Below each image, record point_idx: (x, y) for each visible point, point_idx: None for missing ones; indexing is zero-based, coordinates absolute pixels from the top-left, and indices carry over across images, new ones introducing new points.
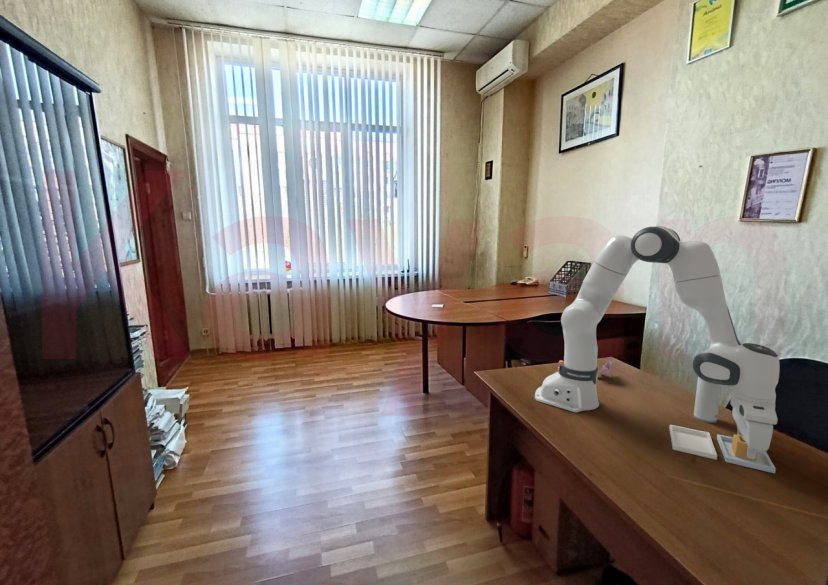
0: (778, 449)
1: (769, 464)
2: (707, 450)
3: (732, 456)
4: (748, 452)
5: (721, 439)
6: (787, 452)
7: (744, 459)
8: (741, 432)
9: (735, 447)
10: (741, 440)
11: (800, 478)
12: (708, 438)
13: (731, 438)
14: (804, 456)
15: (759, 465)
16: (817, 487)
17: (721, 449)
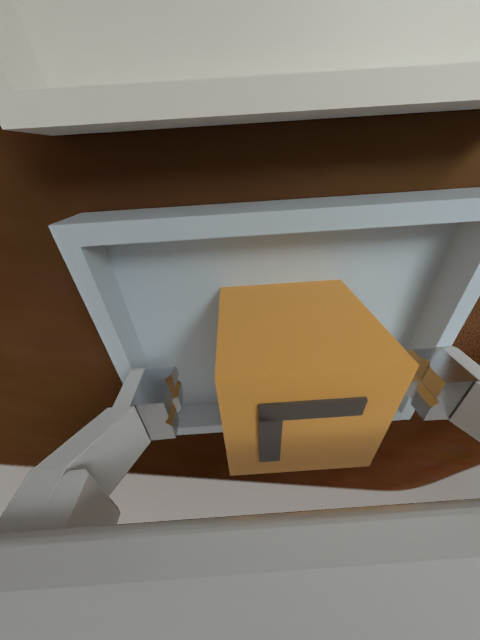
0: (402, 432)
1: (198, 417)
2: (183, 43)
3: (205, 270)
4: (117, 406)
5: (421, 221)
6: (384, 446)
7: (209, 328)
8: (242, 563)
9: (251, 317)
10: (263, 411)
11: (196, 452)
12: (438, 67)
13: (457, 299)
14: (369, 470)
15: None
16: (167, 471)
17: (273, 204)
